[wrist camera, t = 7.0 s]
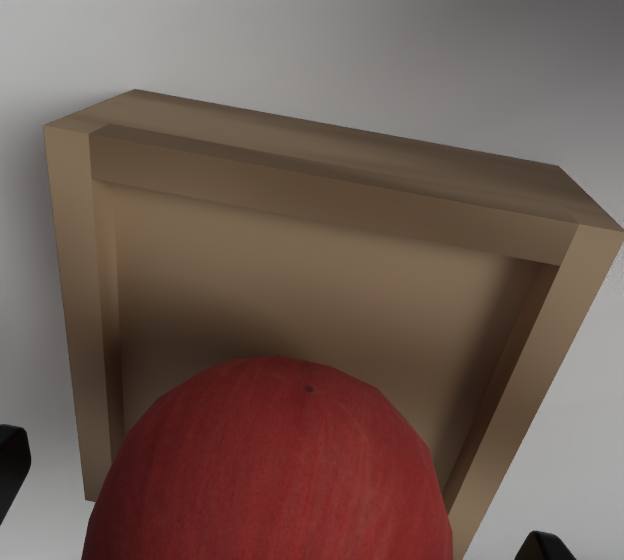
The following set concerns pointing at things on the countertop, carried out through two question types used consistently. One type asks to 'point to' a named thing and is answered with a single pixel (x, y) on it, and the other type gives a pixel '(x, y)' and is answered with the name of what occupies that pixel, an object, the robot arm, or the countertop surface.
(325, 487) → the onion
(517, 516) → the countertop surface
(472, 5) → the countertop surface
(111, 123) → the wooden tray
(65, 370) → the countertop surface
